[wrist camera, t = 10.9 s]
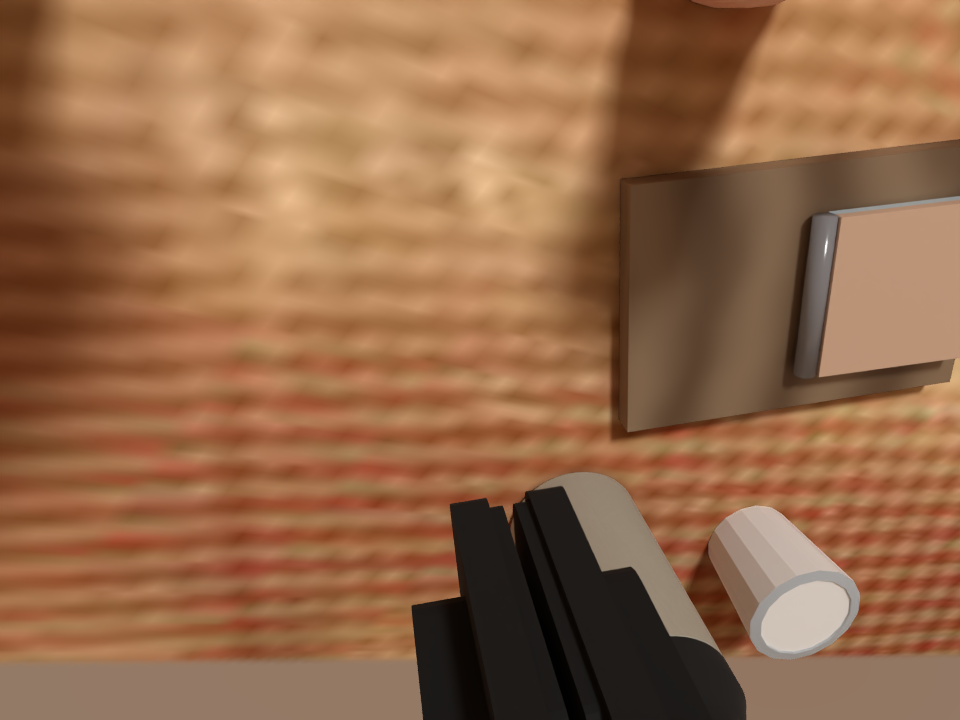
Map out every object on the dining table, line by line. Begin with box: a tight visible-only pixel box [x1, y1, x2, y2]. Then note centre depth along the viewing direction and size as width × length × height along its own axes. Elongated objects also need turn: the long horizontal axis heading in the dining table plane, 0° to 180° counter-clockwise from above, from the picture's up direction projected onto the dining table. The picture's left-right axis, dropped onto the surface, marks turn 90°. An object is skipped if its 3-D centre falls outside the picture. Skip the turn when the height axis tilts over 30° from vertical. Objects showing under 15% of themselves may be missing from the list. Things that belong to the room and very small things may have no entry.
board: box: [619, 139, 960, 432], centre depth 40 cm, size 20×14×2 cm
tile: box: [793, 196, 960, 379], centre depth 39 cm, size 10×9×1 cm
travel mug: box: [510, 472, 746, 720], centre depth 38 cm, size 8×8×18 cm
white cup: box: [708, 506, 860, 659], centre depth 46 cm, size 7×7×7 cm
